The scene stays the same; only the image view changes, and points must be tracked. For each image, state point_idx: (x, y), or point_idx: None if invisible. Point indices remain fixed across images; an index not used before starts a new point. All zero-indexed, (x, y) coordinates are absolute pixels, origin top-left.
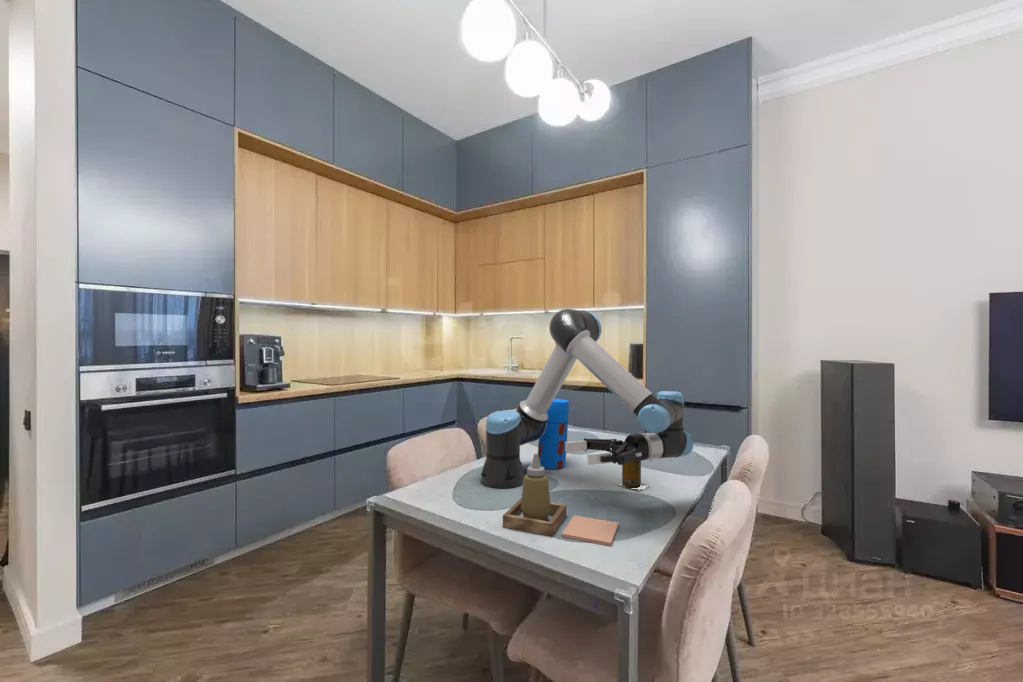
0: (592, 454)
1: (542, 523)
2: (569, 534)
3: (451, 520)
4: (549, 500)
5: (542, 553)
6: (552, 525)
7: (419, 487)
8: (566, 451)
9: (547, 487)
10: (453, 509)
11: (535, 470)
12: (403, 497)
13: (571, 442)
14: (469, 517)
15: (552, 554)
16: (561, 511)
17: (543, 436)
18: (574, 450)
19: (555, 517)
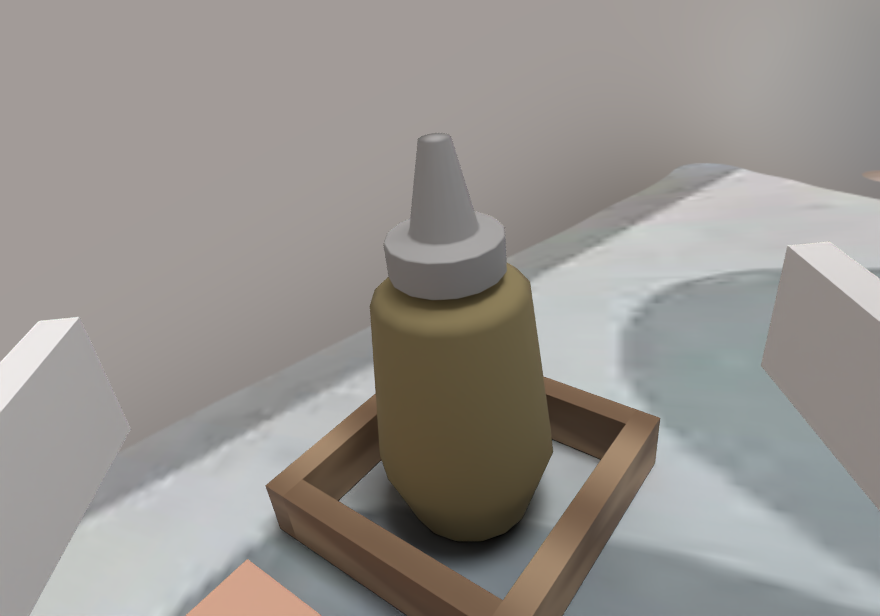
0: (8, 357)
1: (307, 455)
2: (216, 592)
3: (534, 273)
4: (417, 458)
5: (171, 463)
6: (270, 493)
7: (848, 205)
8: (766, 358)
9: (396, 377)
10: (632, 274)
11: (392, 230)
12: (732, 191)
13: (838, 288)
14: (553, 306)
15: (140, 492)
16: (406, 575)
17: None
18: (838, 442)
19: (334, 518)
